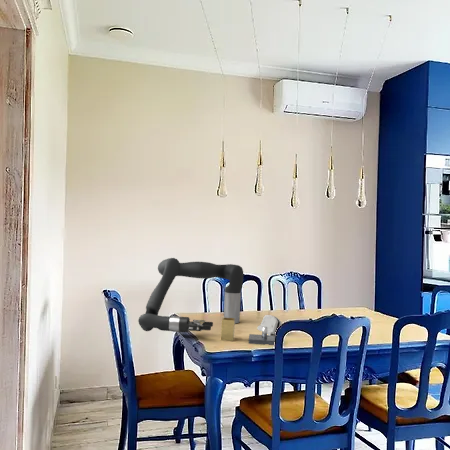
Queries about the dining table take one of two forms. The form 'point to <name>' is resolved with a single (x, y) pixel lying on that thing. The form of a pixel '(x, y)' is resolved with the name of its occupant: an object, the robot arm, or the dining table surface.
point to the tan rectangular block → (227, 329)
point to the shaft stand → (262, 338)
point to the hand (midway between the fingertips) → (211, 326)
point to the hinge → (270, 324)
